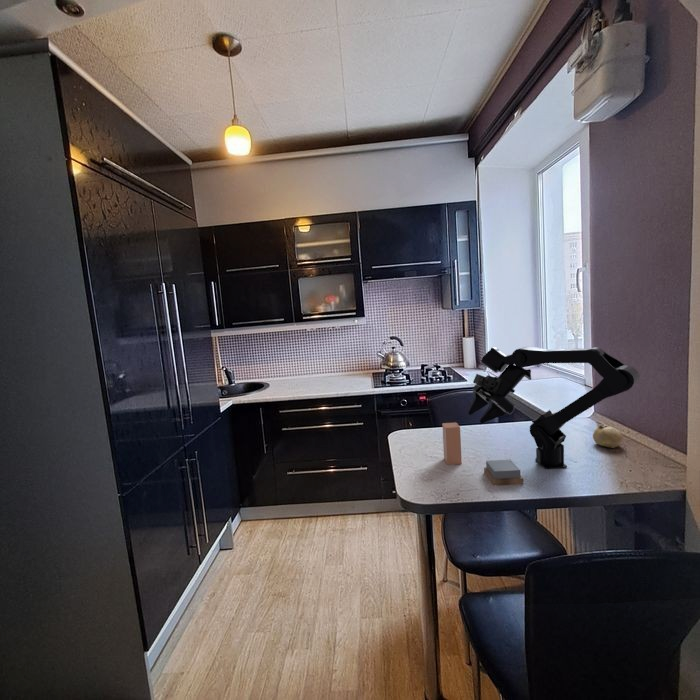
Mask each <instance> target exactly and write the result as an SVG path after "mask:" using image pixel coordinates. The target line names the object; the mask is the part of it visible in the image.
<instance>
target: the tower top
mask: <svg viewBox="0 0 700 700" xmlns="http://www.w3.org/2000/svg"><path fill="white" fill-rule="evenodd" d="M485 465H486V468H487V469H488V471H489V472H490V473H491V475H492V476H493V478H494V479H505V478H520V476H521V469H520V468H519V467H518V466H517V465H516V463H514V462H513V460H511V459H493V460H486V461H485Z"/></svg>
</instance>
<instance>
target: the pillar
mask: <svg viewBox="0 0 700 700" xmlns="http://www.w3.org/2000/svg"><path fill="white" fill-rule="evenodd" d="M441 426H442V441H443V442H442V444H443V446H442V447H443V459H445V460H444V461H445V463H446V465H448V466H449V465H462V462H463V461H462V446H461V445H462V440H461V439H462V438H461V426H460V425H459V423H457V422H444V423H443V422H442V425H441Z"/></svg>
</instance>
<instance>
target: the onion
mask: <svg viewBox="0 0 700 700" xmlns="http://www.w3.org/2000/svg"><path fill="white" fill-rule="evenodd" d="M592 439H593V440H594V442H595V444H597V445H599V446H601V447H606V448H611V449H615V448H618V447H619V446H620V445H621V444H622V443H623V440H624V437H623V434H622V432H620V431H619V430H617V429H616V428H615V427H612V426H609V425H607V424H605V423H604V424H599V425H598V426H597V427H596V429H594V432H593V434H592Z"/></svg>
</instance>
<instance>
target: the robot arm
mask: <svg viewBox="0 0 700 700" xmlns="http://www.w3.org/2000/svg"><path fill="white" fill-rule="evenodd" d="M480 364H482V365H484V366H485V367H486V368H488V369H489V370H491V371H492V372H493V373H496V374H498V373H500V374H499V375H498V376H491V375H486V376H484V375H482V374H479V373H476V374H475V376H474V379H473V382H472V384H475V385H474V386H473V387H472V388H471V389H472V394H473V400H472V402H471V405H470V407H469V409H468V411H467V413H468V415H470V416H471V415H473V414H475V413H477V412H478V411H480V410H481V409H483V408H485V407H486V406H487V405H488V408H486V410H485V412H484V413H483V414H482V415H481V417H480V419H479V421H478V422H479V423H480V424H485V423H487V422H489V421H492V420H495V419H497V418H500V417H502V416H503V417H504V416H507V415H512V414H513V412H514V411H515V405H514V404H513V403H512V402H511V401H510V400H509V399H507V397H508V396H509V394H510V393H512V394H514V393H515V392H516V389H515V387H517V386H518V384H519V383H520V382H521V381H522V380H523V379H524V378H526V379H527V380H529V381H530V380H532V369H526V368H528V367H533V366H538V365H544V364H589V365H590V366H592V368H593V369H594V370H595V371H596V372H597V374H599V376H601V377H602V379H601V380H600V381H599V383H598V384H596V386H594V388H592V389H590V390H589V391H587V392H586V393H585V394H583V395H581V396H580V397H578V398H577V399H575V400H574V401H572V402H570V403H569V404H568V405H566V406H565V407H563V408H562V409H559V410H558V411H556V412H553V413H552V411H551V410H550V409H549V410H547V411H546V412H544V413H542V414H541V415H539V416H538V417H536V418H534V419H533V420H531V424H530V426H529V432H530V433H529V434H530V435H531V437H532V438H533V439H534V443H535V444H536V446H537V447H536V448H535V451H536V452H535V455H536V458H535V459H534V460H535V461H536V462H537V463H538V464H539V465H540V466H541V467H543V469H545V470H546V469H561V468H562V469H564V468H568V465H567V464H566V463H565V445H564V444H562V443H564V442H565V439H566V438H567V435H566V434H565V433H564V432H563V431H562V430H561V429H562V427H564V425H565V424H566V423H568V422H569V421H571V420H573V419H574V418H576V417H578V416H579V415H580V414H583V412H585V411H587V410H589V409H590V408H592V407H593V406H595V405H597V404H599V403H600V402H602V401H603V400H605V399H609V398H611V397H614V396H617V395H619V394H623V393H624V392H627V391H628V390H630V389H632V388H633V387H634V386H635V385H636V384H637V383H638V382H639V380H640V374H639V371H638V370H637V369H636V368H635V367H634V366H630V365H626V364H624V362H622V361H620V360H619V359H617V358H615V357H613V356H612V355H611V354H608V352H606V351H605V350H603V349H602V348H601V347H591V348H590V347H589V348H565V349H562V348H561V349H560V348H559V349H558V348H557V349H548V348H547V349H545V348H541V347H536V346H529V345H528V346H523V347H521V348H516V349H515V350H514V351H513V352H512V353H511V354H505V353H504V352H502V351H501V350H500V349H499V348H497V347H496V346H494V347H493V346H492V347H491V348H490V349H489V351H487V352H486V353H485V355H483V356H482V358H481V363H480Z"/></svg>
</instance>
